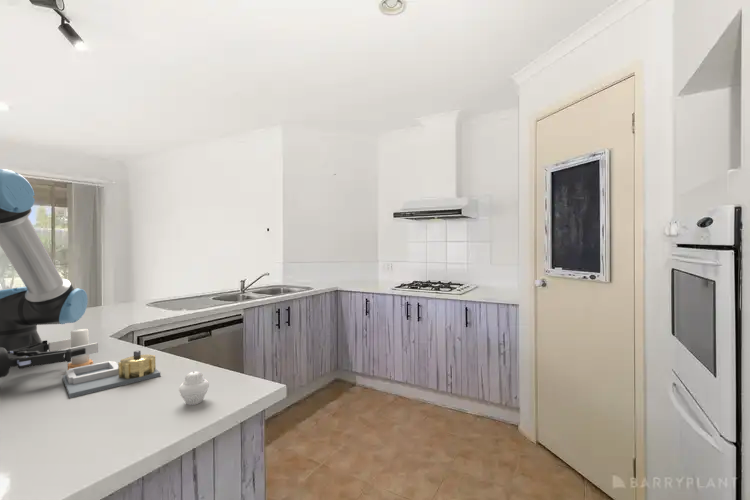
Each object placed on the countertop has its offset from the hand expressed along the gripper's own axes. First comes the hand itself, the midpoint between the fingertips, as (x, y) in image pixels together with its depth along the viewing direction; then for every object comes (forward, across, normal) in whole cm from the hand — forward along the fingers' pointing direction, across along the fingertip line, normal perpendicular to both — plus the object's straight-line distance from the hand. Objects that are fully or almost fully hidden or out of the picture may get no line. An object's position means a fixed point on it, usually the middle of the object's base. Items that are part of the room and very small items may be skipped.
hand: (86, 344), depth 106 cm
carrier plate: (-1, +16, -7) cm, 18 cm away
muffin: (0, +52, -7) cm, 52 cm away
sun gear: (+3, +23, -7) cm, 24 cm away
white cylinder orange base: (-1, 0, -7) cm, 7 cm away
